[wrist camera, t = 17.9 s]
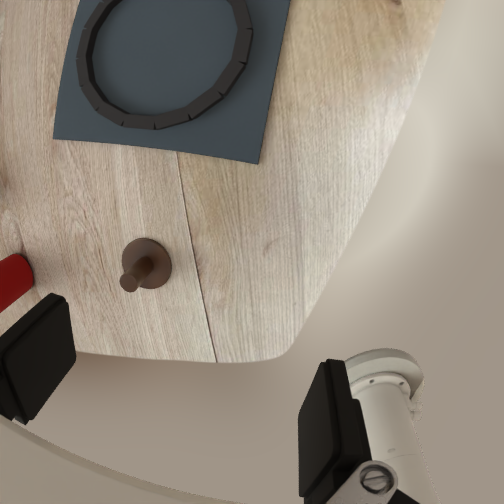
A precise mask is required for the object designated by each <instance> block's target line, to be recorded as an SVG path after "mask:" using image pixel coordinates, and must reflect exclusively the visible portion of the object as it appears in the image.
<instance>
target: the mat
mask: <svg viewBox="0 0 504 504" xmlns="http://www.w3.org/2000/svg"><path fill="white" fill-rule="evenodd" d="M245 1H246V4H247V8H248V11H249V15H250V19H251V23H252V27H253V33H254V35H253V40H252V45H251V49H250V54H249V59H248V64H247V65H245V67H246V68H245V70H244V71H243V73H242V74H241V76H240V77H239V78H238V80H237V81H236V83H235V84H234V86H233V87H232V89H231V90H230V92H229V93H228V95H227V96H225V95H223V94H222V96H223V97H224V99H223V100H221V101H220V102H219V103H217V104H216V105H214V106H213V107H212V108H210V109H209V110H207V111H206V112H205V113H203V114H202V115H201V116H199V117H198V118H196V119H193V120H192V121H189V122H185V123H182V124H178V125H175V126H171V127H168V128H165V129H162V130H148V129H138V128H126V127H123V126H119V125H117V124H115V123H114V122H112V121H110V120H109V119H107V118H105V117H103V116H102V115H100V114H98V113H97V111H95V110H94V109H93V107H92V106H91V104H90V103H89V101H88V100H87V98H86V97H85V95H84V93H83V92H82V90H81V88H82V87H80V86H79V80H78V73H77V67H76V59H78V58H76V54H77V50H78V45H79V41H80V37H81V33H82V30H83V29H86V28H84V25H85V24H86V22H87V20H88V19H89V17H90V16H91V14H92V12H93V11H94V9H95V8H96V6H97V5H98V3H99V2H103V1H102V0H80V2H79V5H78V9H77V12H76V16H75V19H74V23H73V26H72V30H71V34H70V38H69V42H68V46H67V51H66V55H65V60H64V65H63V70H62V75H61V81H60V87H59V93H58V99H57V107H56V114H55V123H54V132H53V139H59V140H75V141H89V142H101V143H112V144H122V145H131V146H140V147H149V148H157V149H165V150H172V151H179V152H186V153H193V154H200V155H206V156H212V157H218V158H224V159H230V160H236V161H241V162H247V163H252V164H258V161H259V156H260V151H261V146H262V141H263V135H264V130H265V125H266V120H267V115H268V110H269V105H270V100H271V95H272V90H273V84H274V79H275V74H276V69H277V64H278V59H279V54H280V49H281V45H282V40H283V35H284V30H285V25H286V20H287V15H288V10H289V5H290V1H291V0H245ZM237 30H238V29H237V25H236V21H235V17H234V13H233V9H232V6H231V5H230V4H229V3H228V2H227V1H226V0H122V1H121V2H120V3H119V4H118V5H116V6H115V7H114V8H113V9H112V11H111V12H110V14H109V15H108V17H107V18H106V20H105V21H104V23H103V24H102V26H101V28H100V29H99V31H98V33H97V37H96V41H95V46H94V50H93V54H92V61H93V68H94V74H95V80H96V83H97V85H98V86H99V88H100V89H101V91H102V92H103V93H104V95H105V96H106V98H107V99H108V101H109V102H110V103H112V104H114V105H116V106H118V107H119V108H121V109H123V110H125V111H127V112H128V113H130V114H135V115H148V116H156V115H160V114H163V113H166V112H169V111H172V110H176V109H179V108H182V107H185V106H187V105H188V104H189V103H191V102H192V101H193V100H195V99H196V98H197V97H199V96H200V95H201V94H203V93H204V92H205V91H207V90H208V89H210V88H211V87H212V86H213V85H214V83H215V82H216V81H217V79H218V78H219V76H220V75H221V73H222V72H223V70H224V69H225V67H226V66H227V64H228V63H229V62H230V60H231V58H232V53H233V48H234V44H235V39H236V34H237Z"/></svg>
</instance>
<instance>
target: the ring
mask: <svg viewBox="0 0 504 504" xmlns="http://www.w3.org/2000/svg"><path fill="white" fill-rule="evenodd" d="M102 1H103V2H99V3H98V5H97V6H96V8H95V9H94V11H93V12H92V14H91V16H90V17H89V19H88V20H87V22H86V24H85V25H84V28H86V29H83V30H82V33H81V37H80V41H79V45H78V50H77V54H76V58H78V59H76V67H77V73H78V80H79V86H80V87H82V88H81V90H82V92H83V93H84V95H85V97H86V98H87V100H88V101H89V103H90V104H91V106H92V107H93V109H94V110H95V111H97V113H98V114H100V115H102V116H103V117H105V118H107V119H109V120H110V121H112V122H114V123H115V124H117V125H119V126H123V127H126V128H138V129H148V130H162V129H165V128H168V127H171V126H175V125H178V124H182V123H185V122H189V121H192V120H193V119H196V118H198V117H199V116H201V115H202V114H203V113H205V112H206V111H207V110H209V109H210V108H212V107H213V106H214V105H216V104H217V103H219V102H220V101H221V100H223V99H224V97H223V96H222V94H223V95H225V96H227V95H228V93H229V92H230V90H231V89H232V87H233V86H234V84H235V83H236V81H237V80H238V78H239V77H240V76H241V74H242V73H243V71H244V70H245V68H246V67H245V65H247V64H248V59H249V54H250V49H251V45H252V40H253V35H254V33H253V27H252V23H251V19H250V15H249V11H248V8H247V4H246V1H245V0H226V1H227V2H228V3H229V4H230V5H231V6H232V9H233V13H234V17H235V21H236V25H237V29H238V30H237V34H236V39H235V44H234V48H233V53H232V58H231V60H230V62H229V63H228V64H227V66H226V67H225V69H224V70H223V72H222V73H221V75H220V76H219V78H218V79H217V81H216V82H215V83H214V85H213V86H212V87H211V88H210V89H208V90H207V91H205V92H204V93H203V94H201V95H200V96H199V97H197V98H196V99H195V100H193V101H192V102H191V103H189V104H188V105H187V106H185V107H182V108H179V109H176V110H172V111H169V112H166V113H163V114H160V115H156V116H148V115H135V114H130V113H128V112H127V111H125V110H123V109H121V108H119V107H118V106H116V105H114V104H112V103H110V102H109V101H108V99H107V98H106V96H105V95H104V93H103V92H102V91H101V89H100V88H99V86H98V85H97V83H96V80H95V74H94V68H93V61H92V54H93V50H94V46H95V41H96V37H97V33H98V31H99V29H100V28H101V26H102V24H103V23H104V21H105V20H106V18H107V17H108V15H109V14H110V12H111V11H112V9H113V8H114V7H115V6H116V5H118V4H119V3H120V2H121V1H122V0H102Z"/></svg>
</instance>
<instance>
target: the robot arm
mask: <svg viewBox="0 0 504 504" xmlns="http://www.w3.org/2000/svg"><path fill="white" fill-rule="evenodd" d="M75 361H76V351H75V346H74V340H73V334H72V327H71V320H70V312H69V305H68V303H67V302H66V299H65V298H64V297H63V296H60V295H57V294H54V293H50V294H48V295H47V296H46V297H45V298H43V299H42V300H41V301H40V302H39V303H38V304H36V305H35V306H34V307H33V308H32V309H31V310H29V311H28V312H27V313H26V314H25V315H24V316H23V317H21V318H20V319H19V320H18V321H17V322H16V323H15V324H14V325H13V326H11V327H10V328H9V329H8V330H7V331H6V332H5V333H4V334H3V335H2V336H1V337H0V504H243V503H236V502H231V501H226V500H220V499H214V498H209V497H205V496H200V495H196V494H191V493H187V492H183V491H179V490H175V489H171V488H167V487H164V486H160V485H157V484H154V483H150V482H147V481H144V480H140V479H138V478H134V477H131V476H129V475H126V474H122V473H120V472H117V471H114V470H112V469H109V468H106V467H104V466H101V465H99V464H96V463H94V462H91V461H89V460H86V459H84V458H82V457H80V456H77V455H75V454H73V453H71V452H69V451H67V450H65V449H62V448H60V447H58V446H56V445H54V444H52V443H50V442H48V441H46V440H44V439H42V438H40V437H38V436H37V435H35V434H33V433H31V432H29V431H28V430H26V429H24V428H22V427H21V426H19V425H17V424H15V423H13V422H12V420H13V418H15V420H17V421H19V422H20V423H22V424H24V425H26V424H27V423H28V421H29V420H33V419H34V418H35V416H36V415H37V414H38V412H39V411H40V409H41V408H42V407H43V405H44V404H45V402H46V401H47V400H48V398H49V397H50V395H51V394H52V393H53V392H54V390H55V389H56V387H57V386H58V385H59V383H60V382H61V381H62V379H63V378H64V377H65V375H66V374H67V373H68V371H69V370H70V369H71V368H72V366H73V365H74V363H75ZM409 397H410V387H409V384H408V382H407V380H406V379H405V378H404V377H403V376H401V375H399V374H397V373H393V372H379V373H374V374H370V375H367V376H364V377H362V378H360V379H358V380H356V381H355V382H353V383H352V384H351V385H349V380H348V376H347V371H346V367H345V363H344V361H342V360H334V359H327V360H326V362H321V363H320V365H319V367H318V370H317V372H316V375H315V377H314V380H313V382H312V384H311V387H310V389H309V391H308V394H307V396H306V398H305V400H304V402H303V405H302V407H301V409H300V412H299V416H298V448H299V496H300V497H304V504H441V502H440V500H439V498H438V495H437V493H436V490H435V488H434V486H433V482H432V480H431V477H430V474H429V471H428V468H427V464H426V461H425V458H424V455H423V452H422V449H421V445H420V443H419V440H418V436H417V433H416V430H415V427H414V425H413V422H412V421H419V420H421V418H422V412H421V411H411V410H421V409H422V406H423V405H422V403H421V402H415V403H412V402H411V401H410V399H409Z"/></svg>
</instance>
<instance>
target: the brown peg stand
mask: <svg viewBox="0 0 504 504" xmlns="http://www.w3.org/2000/svg"><path fill="white" fill-rule="evenodd" d="M122 266H123V269H124V272H125V273H124V274H123V275H122V276H121V277H120V285H121V287H122V288H123V289H124V290H125V291H127V292H134V291H136V290H137V288H138V287H142V288H146V289H155V288H158V287H160V286H162V285H163V284H164V283H165V282H166V281H167V280H168V278H169V276H170V274H171V269H172V265H171V260H170V257H169V255H168V253H167V251H166V250H165V249H164V247H163V246H161V245H160V244H159V243H158V242H156V241H154V240H151V239H147V238H140V239H136V240H134V241H132V242H131V243H129V244H128V245H127V246H126V248H125V249H124V251H123V255H122Z"/></svg>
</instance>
